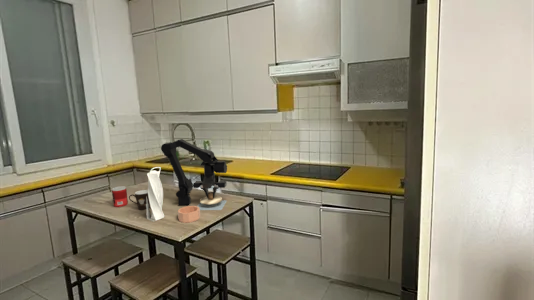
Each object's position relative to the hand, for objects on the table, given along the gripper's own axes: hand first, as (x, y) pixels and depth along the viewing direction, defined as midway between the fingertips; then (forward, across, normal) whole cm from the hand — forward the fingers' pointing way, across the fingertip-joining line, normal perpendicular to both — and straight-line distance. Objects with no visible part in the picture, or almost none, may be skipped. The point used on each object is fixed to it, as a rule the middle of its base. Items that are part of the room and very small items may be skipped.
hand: (210, 198), depth 174 cm
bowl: (+5, -7, -19) cm, 21 cm away
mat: (+5, 0, 0) cm, 5 cm away
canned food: (+5, -57, +2) cm, 57 cm away
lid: (+2, 0, 0) cm, 2 cm away
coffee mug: (+5, -41, -3) cm, 41 cm away
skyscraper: (+5, -25, -18) cm, 31 cm away
